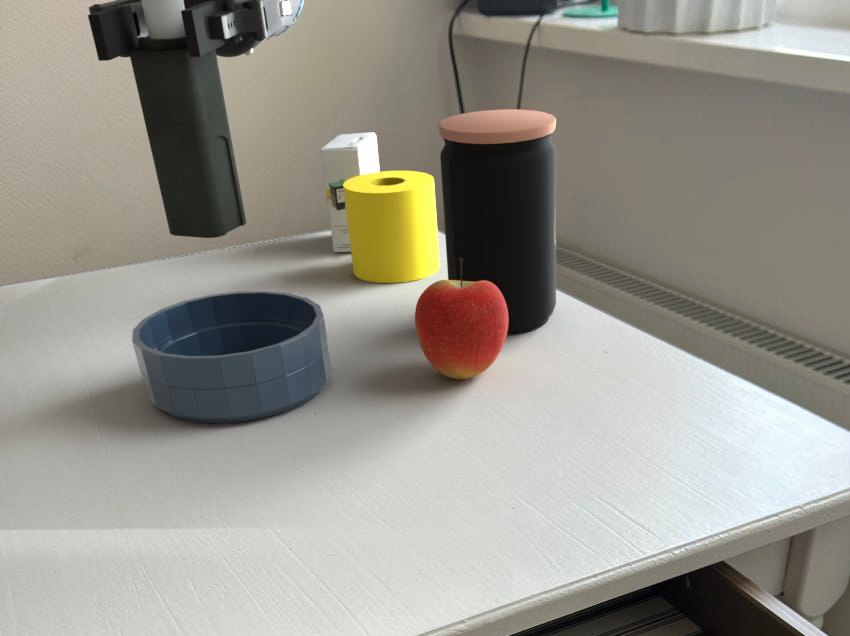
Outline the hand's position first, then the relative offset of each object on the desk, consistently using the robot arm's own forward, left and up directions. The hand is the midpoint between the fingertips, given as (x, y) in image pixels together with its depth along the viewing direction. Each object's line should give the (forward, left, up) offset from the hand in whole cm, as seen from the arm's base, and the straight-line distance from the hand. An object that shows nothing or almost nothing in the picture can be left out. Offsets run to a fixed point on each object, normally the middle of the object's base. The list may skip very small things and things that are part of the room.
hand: (144, 35), depth 67 cm
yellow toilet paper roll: (+10, +38, -28) cm, 48 cm away
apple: (+20, +7, -28) cm, 35 cm away
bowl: (0, +5, -28) cm, 28 cm away
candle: (0, +5, -14) cm, 15 cm away
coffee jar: (+23, +21, -28) cm, 42 cm away
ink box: (+4, +49, -28) cm, 57 cm away
